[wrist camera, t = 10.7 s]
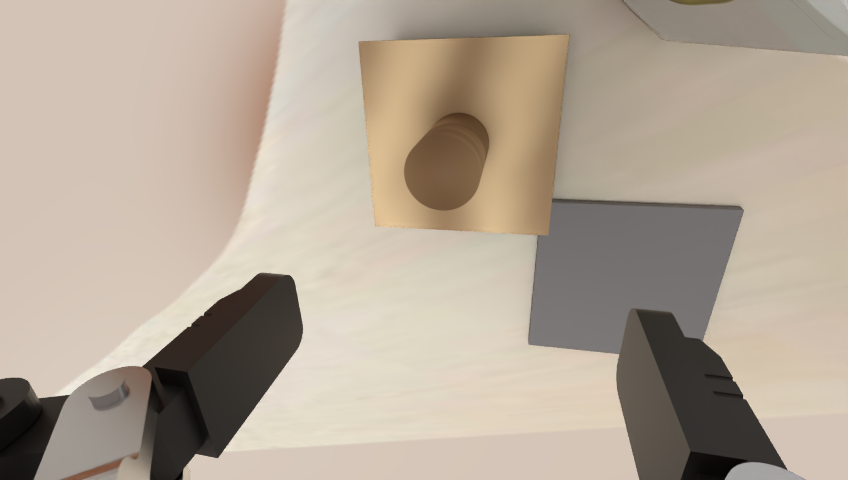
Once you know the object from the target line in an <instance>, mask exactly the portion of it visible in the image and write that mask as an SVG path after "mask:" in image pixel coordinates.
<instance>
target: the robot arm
mask: <svg viewBox="0 0 848 480" xmlns="http://www.w3.org/2000/svg"><path fill="white" fill-rule="evenodd" d="M302 334H303V324H302V319H301V313H300V308H299V303H298V297H297V292H296V287H295V282H294V280H293V278H292V277H291V276H290V275H282V274H271V273H259V274H257V275H256V276H255V277H254V278H253V279H252V280H251V281H249V282H248V283H247V284H246V285H245V286H244V287H243V288H242V289H240V290H238V291H236V292H234V293H232V294H230V295H228V296H226V297H224V298H222V299H220V300H219V301H217V302H216V303H215V304H214V305H213V306H212V307H211V308H209V309H208V310H207V311H206V312H205V313H204V316H200V317H199V318H198V319H197V320H196V321H194V322H193V323H192V326H191V327H187V328H186V329H185V330H184V331H183V332H182V333H181V334H179V335H178V336H177V337H176V338H175V339H174V340H172V341H171V342H170V343H169V344H168V345H167V346H166V347H164V348H163V349H162V350H161V351H160V352H159V353H157V354H156V355H155V356H154V357H153V358H152V359H151V360H149V361H148V362H147V363H146V364H145V365H144V366H142V367H138V366H128V367H121V368H117V369H113V370H110V371H107V372H105V373H102V374H100V375H98V376H96V377H94V378H92V379H90V380H88V381H87V382H85V383H84V384H82V385H81V386H80V387H78V388H77V389H76V390H75V391H74V392H73V393H72V394H71V395H65V396H56V397H48V398H39V399H38V397H37V396H36V394H35V392H34V390H33V389H32V387H31V385H30V384H29V382H28V381H27V380H25V379H22V378H5V379H0V480H190V470H189V467H188V465H187V464H188V463H189V461H190V460H191V459H192V458H193V457H194V455H195V454H199V455H204V456H209V457H215V458H218V457H219V456H220V455H221V453H222V452H223V450H224V449H225V448H226V446H227V445H228V444H229V442H230V441H231V439H232V438H233V437H234V435H235V434H236V433H237V431H238V430H239V428H240V427H241V426H242V424H243V423H244V422H245V420H246V419H247V417H248V416H249V415H250V413H251V412H252V411H253V409H254V408H255V407H256V405H257V404H258V402H259V401H260V400H261V398H262V397H263V396H264V394H265V393H266V391H267V390H268V389H269V387H270V386H271V385H272V383H273V382H274V380H275V379H276V378H277V376H278V375H279V374H280V372H281V371H282V369H283V368H284V367H285V365H286V364H287V363H288V361H289V360H290V359H291V357H292V356H293V354H294V353H295V352H296V350H297V349H298V347H299V345H300V342H301V339H302ZM616 380H617V391H618V395H619V399H620V403H621V407H622V411H623V416H624V420H625V424H626V428H627V432H628V436H629V440H630V444H631V448H632V452H633V456H634V460H635V464H636V468H637V472H638V476H639V480H805V479H804V478H802V477H800V476H798V475H796V474H794V473H793V472H790V471H788V470H787V468H786V467H785V465H784V463H783V461H782V460H781V458H780V456H779V455H778V453H777V451H776V450H775V448H774V446H773V444H772V443H771V441H770V439H769V438H768V436H767V434H766V433H765V431H764V429H763V428H762V426H761V424H760V423H759V421H758V419H757V417H756V416H755V414H754V412H753V411H752V409H751V407H750V406H749V404H748V402H747V401H746V400H745V399H743V394H742V392H741V390H740V389H739V387H738V385H737V384H736V382H734V381H733V377H732V375H731V374H730V372H729V370H728V369H727V367H726V365H725V363H724V362H723V360H722V358H721V357H720V356H719V355H718V354H717V353H715V352H714V351H713V350H712V349H711V348H710V347H708V346H707V345H706V344H705V343H704V342H702V341H701V340H700V339H698V338H688V337H685V336H684V334H683V332H682V330H681V328H680V326H679V325H678V323H677V321H676V319H675V317H674V315H673V314H672V313H671V312H668V311H657V310H647V309H636V308H632V309H631V310H630V312H629V314H628V318H627V322H626V327H625V331H624V336H623V340H622V345H621V350H620V354H619V359H618V364H617V375H616Z"/></svg>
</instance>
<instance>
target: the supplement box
mask: <svg viewBox="0 0 848 480" xmlns="http://www.w3.org/2000/svg"><path fill="white" fill-rule="evenodd" d="M623 1H624V2H625V3H626V4H627V5H628V6H629V7H630V8H631V9H632V10H633V11H634V12H635V13H636V14H637V15H638V16H639V17H640V18H641V19H642V20H643V21H644V22H645V23H646V24H647V25H648V26H649V27H650V28H651V29H652V30H653V31H654V32H655V33H656V34H657V35H658V36H659V37H660V38H661V39H663V40H667V41H678V42H687V43H698V44H711V45H722V46H734V47H746V48H758V49H770V50H782V51H794V52H806V53H818V54H830V55H842V56H848V0H623Z"/></svg>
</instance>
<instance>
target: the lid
mask: <svg viewBox="0 0 848 480" xmlns="http://www.w3.org/2000/svg"><path fill="white" fill-rule="evenodd" d="M568 43H569V35H538V36H508V37H478V38H449V39H419V40H389V41H362V42H359V52H360V63H361V74H362V86H363V97H364V108H365V119H366V130H367V141H368V152H369V164H370V175H371V186H372V197H373V208H374V219H375V226H383V227H401V228H419V229H438V230H456V231H474V232H493V233H511V234H529V235H548V233H549V224H550V214H551V205H552V195H553V186H554V176H555V167H556V157H557V148H558V138H559V129H560V119H561V110H562V100H563V90H564V81H565V71H566V62H567V52H568Z"/></svg>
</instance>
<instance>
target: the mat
mask: <svg viewBox="0 0 848 480" xmlns="http://www.w3.org/2000/svg"><path fill="white" fill-rule="evenodd" d="M743 212H744V210H743V209H742V208H741V207H730V206H704V205H678V204H652V203H626V202H600V201H574V200H552V205H551V214H550V224H549V233H548V235H538V243H537V254H536V265H535V275H534V286H533V297H532V307H531V318H530V329H529V339H528V343H529V345H538V346H547V347H557V348H567V349H576V350H586V351H596V352H605V353H615V354H620V350H621V345H622V340H623V336H624V331H625V327H626V322H627V318H628V314H629V312H630V310H631V309H632V308H636V309H647V310H657V311H668V312H671V313H672V314H673V315H674V317H675V319H676V321H677V323H678V325H679V326H680V328H681V330H682V332H683V334H684V336H685V337H688V338H698V339H700V340H701V341H703V338H704V335H705V332H706V329H707V325H708V322H709V319H710V316H711V313H712V310H713V306H714V303H715V300H716V297H717V294H718V291H719V288H720V284H721V281H722V278H723V275H724V272H725V269H726V265H727V262H728V259H729V256H730V253H731V250H732V247H733V243H734V240H735V237H736V234H737V231H738V228H739V224H740V221H741V218H742V215H743Z"/></svg>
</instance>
